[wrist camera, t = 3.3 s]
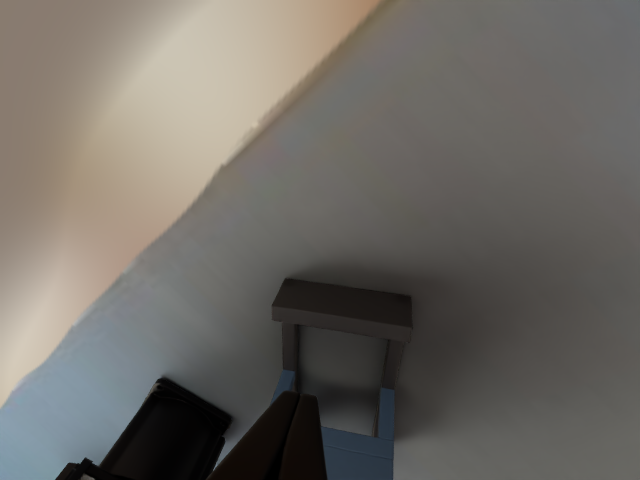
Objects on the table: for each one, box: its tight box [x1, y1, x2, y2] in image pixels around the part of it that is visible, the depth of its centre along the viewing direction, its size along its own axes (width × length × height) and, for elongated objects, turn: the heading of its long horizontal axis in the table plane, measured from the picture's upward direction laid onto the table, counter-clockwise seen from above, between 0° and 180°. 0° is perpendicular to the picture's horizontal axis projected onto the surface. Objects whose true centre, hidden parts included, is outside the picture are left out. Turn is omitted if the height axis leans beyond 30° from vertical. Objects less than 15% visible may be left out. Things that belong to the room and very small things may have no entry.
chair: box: [270, 278, 413, 480], centre depth 19 cm, size 14×7×8 cm, turn 178°
